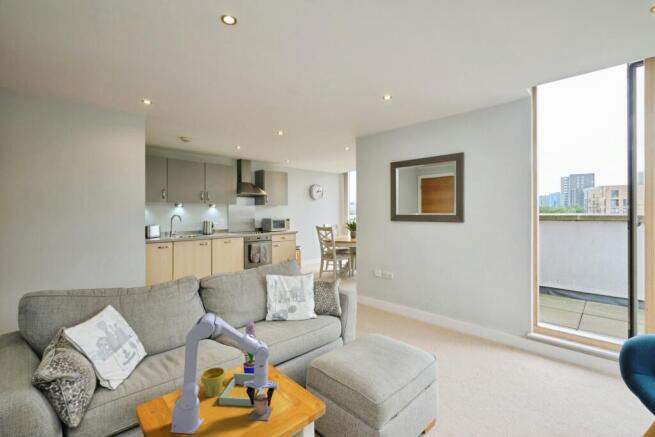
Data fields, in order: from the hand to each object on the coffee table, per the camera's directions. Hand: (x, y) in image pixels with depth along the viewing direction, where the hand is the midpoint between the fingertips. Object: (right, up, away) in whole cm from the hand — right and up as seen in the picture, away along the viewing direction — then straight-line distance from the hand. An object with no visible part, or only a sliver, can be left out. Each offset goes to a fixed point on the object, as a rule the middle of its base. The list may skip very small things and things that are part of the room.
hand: (261, 404), depth 125 cm
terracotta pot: (0, -3, 0) cm, 3 cm away
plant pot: (-26, -4, +14) cm, 30 cm away
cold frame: (-11, -4, +14) cm, 18 cm away
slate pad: (0, -4, 0) cm, 4 cm away
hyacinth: (-11, -4, +29) cm, 32 cm away
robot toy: (-36, -5, +5) cm, 36 cm away
